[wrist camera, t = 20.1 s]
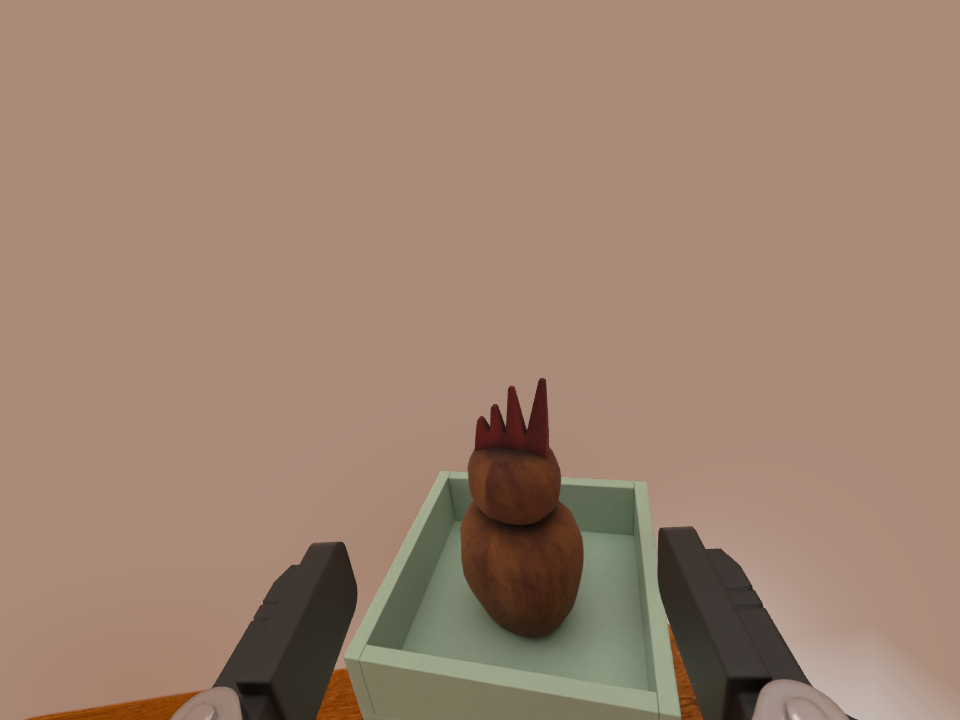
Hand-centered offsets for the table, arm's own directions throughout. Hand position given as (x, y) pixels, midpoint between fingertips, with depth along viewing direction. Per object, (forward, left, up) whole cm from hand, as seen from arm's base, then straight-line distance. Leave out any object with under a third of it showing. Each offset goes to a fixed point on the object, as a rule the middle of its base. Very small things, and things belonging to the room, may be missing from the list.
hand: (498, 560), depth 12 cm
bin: (+2, -11, -16) cm, 19 cm away
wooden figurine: (+2, -11, -15) cm, 19 cm away
